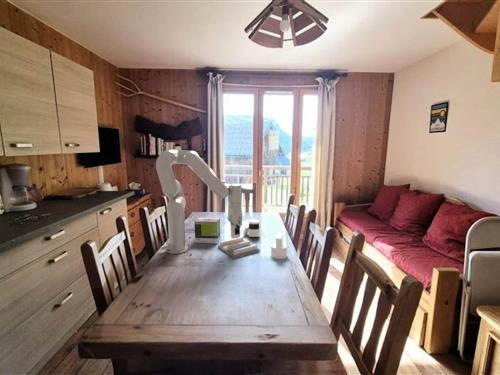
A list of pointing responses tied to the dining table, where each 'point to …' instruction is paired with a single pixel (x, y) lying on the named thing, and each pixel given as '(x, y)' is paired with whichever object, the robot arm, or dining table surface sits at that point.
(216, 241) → the tea box
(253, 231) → the spread jar
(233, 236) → the eye dropper bottle
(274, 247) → the base with upright slab
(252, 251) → the grey board with rails
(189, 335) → the dining table surface
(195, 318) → the dining table surface
